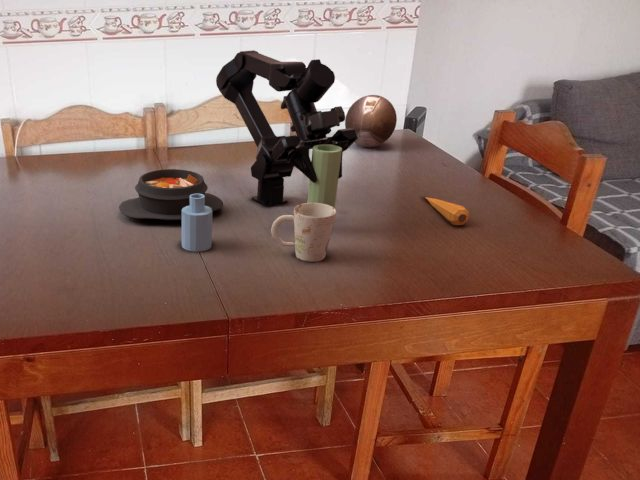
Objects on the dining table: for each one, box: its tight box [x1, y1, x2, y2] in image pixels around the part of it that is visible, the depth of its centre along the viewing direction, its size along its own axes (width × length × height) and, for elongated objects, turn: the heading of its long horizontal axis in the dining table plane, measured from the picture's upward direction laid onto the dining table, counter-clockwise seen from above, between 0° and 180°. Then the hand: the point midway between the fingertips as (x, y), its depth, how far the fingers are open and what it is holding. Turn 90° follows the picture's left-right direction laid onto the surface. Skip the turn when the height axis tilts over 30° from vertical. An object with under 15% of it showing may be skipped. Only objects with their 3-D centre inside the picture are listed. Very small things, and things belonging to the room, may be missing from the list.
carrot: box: [424, 196, 470, 226], centre depth 165 cm, size 20×4×4 cm, turn 6°
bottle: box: [181, 194, 213, 253], centre depth 146 cm, size 6×6×11 cm
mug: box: [270, 202, 337, 263], centre depth 142 cm, size 8×13×10 cm, turn 78°
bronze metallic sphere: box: [344, 94, 398, 148], centre depth 210 cm, size 15×15×15 cm
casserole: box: [118, 168, 224, 222], centre depth 164 cm, size 25×19×8 cm
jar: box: [306, 144, 342, 209], centre depth 150 cm, size 6×6×13 cm
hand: (327, 179), depth 149 cm, fingers closed on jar, 6 cm apart
